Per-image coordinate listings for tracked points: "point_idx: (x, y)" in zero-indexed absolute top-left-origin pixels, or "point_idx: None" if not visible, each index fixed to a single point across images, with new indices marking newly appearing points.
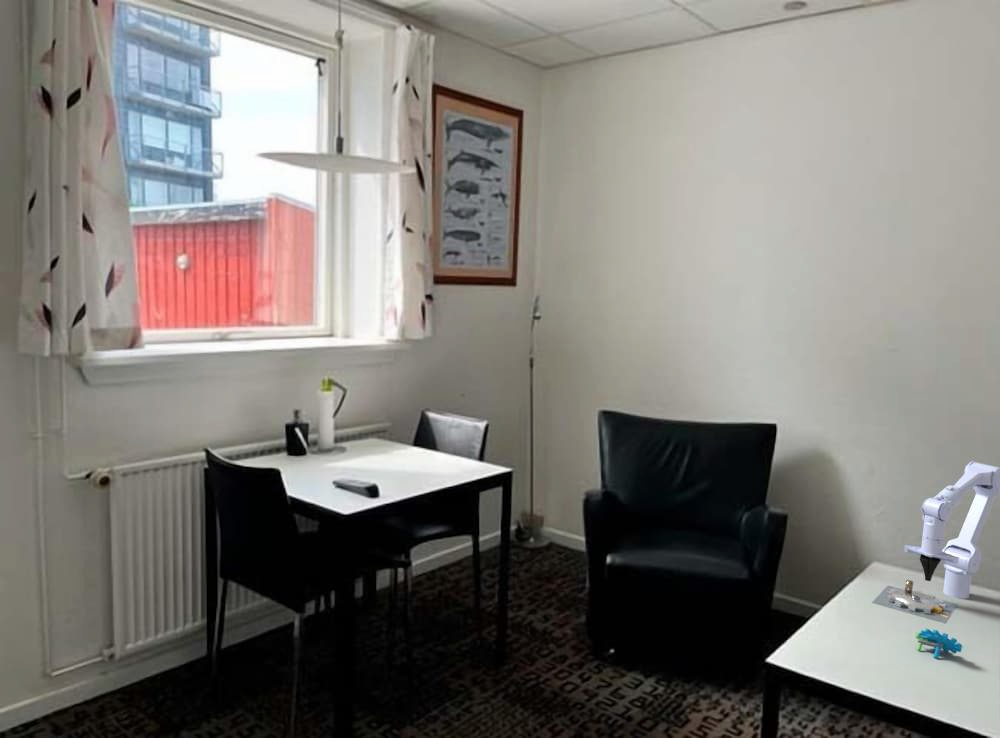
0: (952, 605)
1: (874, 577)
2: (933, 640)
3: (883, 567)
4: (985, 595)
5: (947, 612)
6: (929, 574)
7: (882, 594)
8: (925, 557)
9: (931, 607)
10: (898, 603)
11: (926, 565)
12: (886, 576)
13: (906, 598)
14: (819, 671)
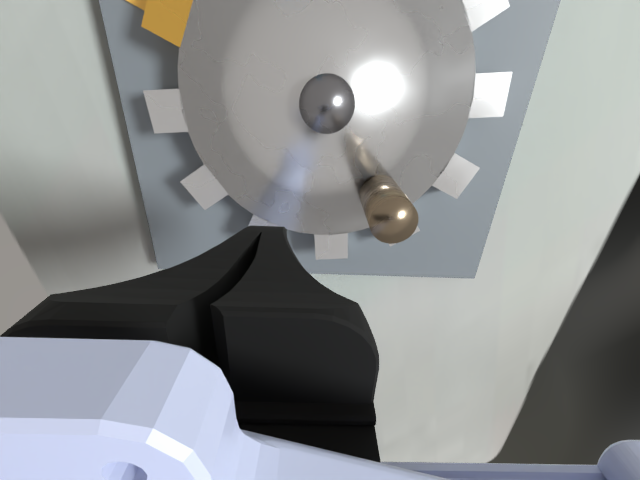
0: (167, 229)
1: (517, 354)
2: None
3: (476, 454)
4: None
5: (141, 88)
6: (239, 243)
7: (512, 108)
8: (284, 425)
9: None
10: None
11: (257, 284)
12: (468, 391)
13: (378, 44)
14: None
